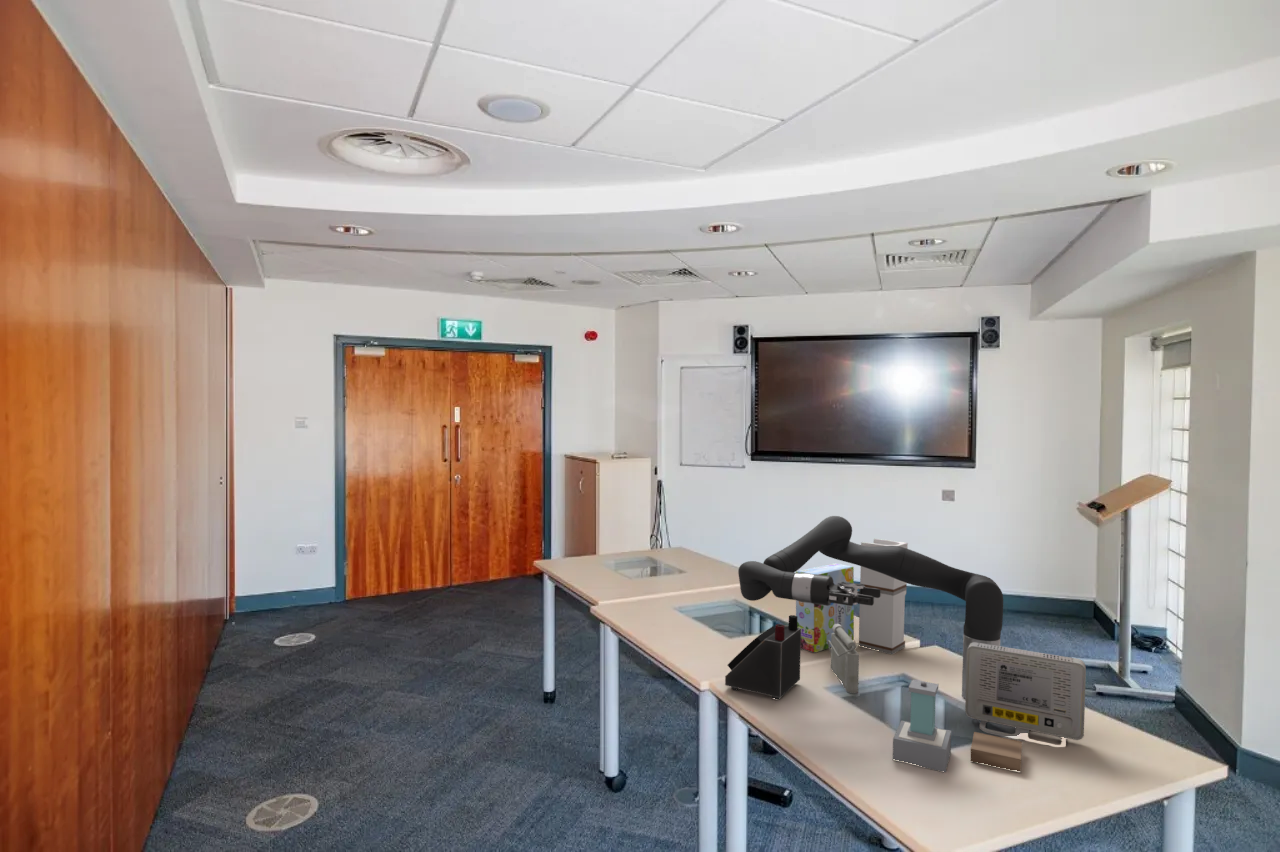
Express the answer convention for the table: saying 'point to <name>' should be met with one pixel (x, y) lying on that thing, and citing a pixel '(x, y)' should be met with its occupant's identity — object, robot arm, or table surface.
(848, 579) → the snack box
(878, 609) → the tall open-top box
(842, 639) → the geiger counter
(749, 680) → the voltmeter
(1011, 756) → the walnut block
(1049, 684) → the network device
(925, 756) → the grey plinth
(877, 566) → the robot arm
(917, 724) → the housing
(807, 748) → the table surface
